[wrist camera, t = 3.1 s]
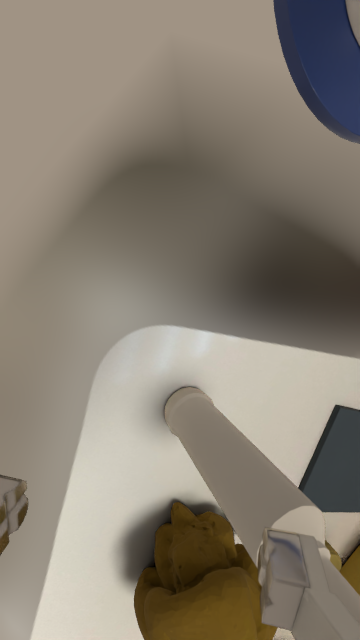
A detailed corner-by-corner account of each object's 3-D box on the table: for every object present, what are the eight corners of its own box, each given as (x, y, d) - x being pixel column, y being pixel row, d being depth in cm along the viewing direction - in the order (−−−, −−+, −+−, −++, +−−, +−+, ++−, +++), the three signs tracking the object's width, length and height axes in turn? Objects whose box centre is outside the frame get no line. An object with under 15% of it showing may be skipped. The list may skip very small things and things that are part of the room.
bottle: (179, 438, 35) (416, 804, 13) (152, 408, 33) (384, 788, 11) (215, 406, 36) (497, 700, 14) (191, 375, 34) (484, 665, 11)
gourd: (176, 603, 42) (236, 763, 29) (97, 566, 35) (130, 749, 23) (250, 520, 43) (336, 638, 31) (186, 470, 37) (263, 592, 24)
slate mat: (335, 404, 44) (340, 407, 43) (402, 420, 51) (407, 422, 50) (289, 507, 45) (293, 512, 45) (360, 508, 52) (364, 512, 52)
